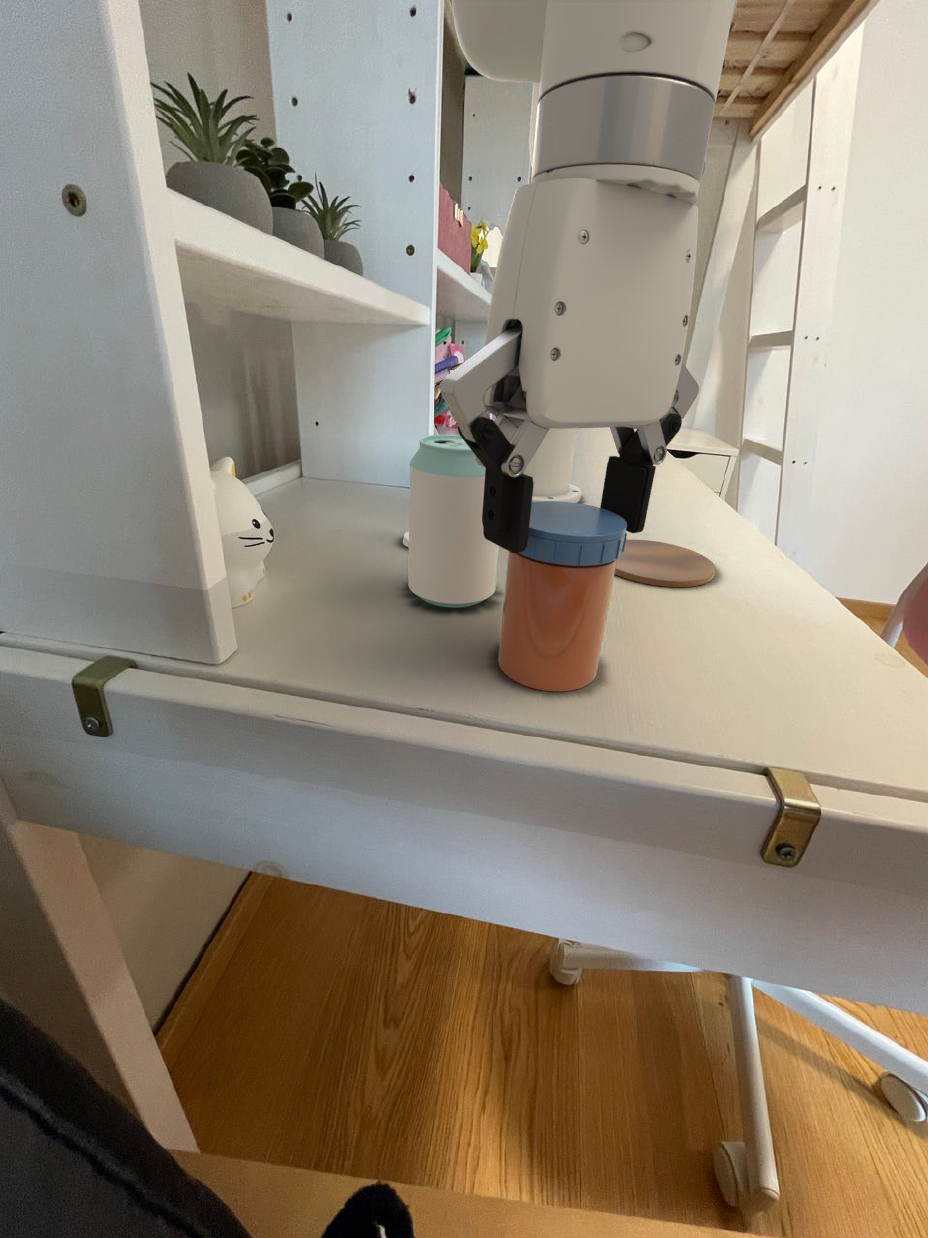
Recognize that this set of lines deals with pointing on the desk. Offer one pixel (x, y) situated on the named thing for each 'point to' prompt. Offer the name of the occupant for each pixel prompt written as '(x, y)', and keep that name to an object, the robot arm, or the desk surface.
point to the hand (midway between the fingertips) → (565, 534)
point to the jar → (553, 622)
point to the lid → (574, 534)
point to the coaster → (663, 564)
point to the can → (449, 525)
